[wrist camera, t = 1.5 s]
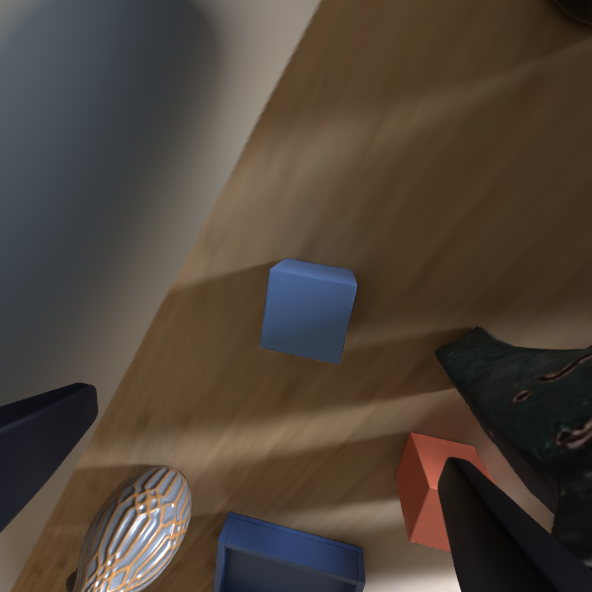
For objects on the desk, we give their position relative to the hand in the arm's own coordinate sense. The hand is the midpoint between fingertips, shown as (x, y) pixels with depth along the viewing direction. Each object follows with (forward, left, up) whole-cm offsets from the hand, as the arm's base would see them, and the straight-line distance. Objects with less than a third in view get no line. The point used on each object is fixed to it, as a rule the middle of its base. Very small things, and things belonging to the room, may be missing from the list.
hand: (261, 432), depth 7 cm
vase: (+10, +20, -13) cm, 25 cm away
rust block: (-11, +11, -13) cm, 20 cm away
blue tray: (-2, +27, -13) cm, 30 cm away
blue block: (0, 0, -13) cm, 13 cm away
